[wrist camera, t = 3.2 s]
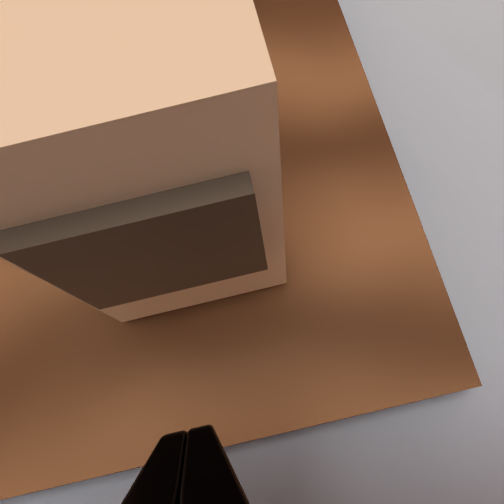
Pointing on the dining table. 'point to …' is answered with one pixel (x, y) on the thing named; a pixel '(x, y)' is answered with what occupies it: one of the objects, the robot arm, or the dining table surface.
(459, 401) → the dining table surface
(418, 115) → the dining table surface
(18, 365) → the gauge base
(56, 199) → the block
